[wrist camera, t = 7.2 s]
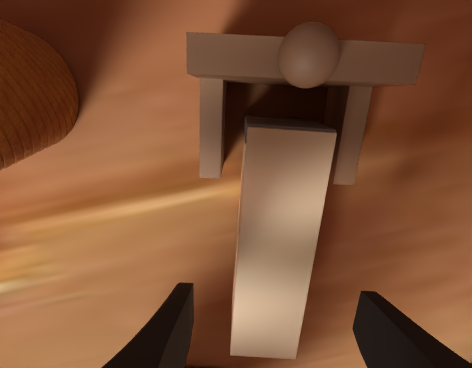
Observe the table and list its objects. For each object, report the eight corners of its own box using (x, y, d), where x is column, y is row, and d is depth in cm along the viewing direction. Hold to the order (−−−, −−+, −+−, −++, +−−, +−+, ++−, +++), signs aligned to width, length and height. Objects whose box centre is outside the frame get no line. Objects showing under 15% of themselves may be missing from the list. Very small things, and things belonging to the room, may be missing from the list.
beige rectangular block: (282, 293, 19) (296, 359, 14) (231, 290, 19) (229, 355, 14) (308, 119, 15) (338, 130, 11) (244, 114, 15) (246, 124, 10)
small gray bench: (333, 168, 16) (408, 229, 9) (206, 162, 16) (180, 218, 9) (351, 57, 14) (466, 20, 7) (208, 50, 14) (175, 6, 7)
